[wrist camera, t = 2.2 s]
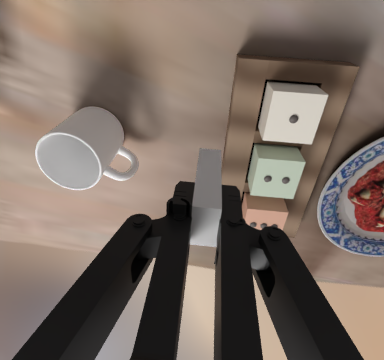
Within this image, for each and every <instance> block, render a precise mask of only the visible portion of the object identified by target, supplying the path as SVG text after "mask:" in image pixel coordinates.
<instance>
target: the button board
mask: <svg viewBox="0 0 384 360" xmlns="http://www.w3.org/2000/svg"><path fill="white" fill-rule="evenodd" d="M359 68H360V67H359V66H356V65H354V64H352V63H349V62H337V61H323V60H309V59H295V58H281V57H267V56H253V55H239V54H237V59H236V66H235V73H234V81H233V88H232V95H231V103H230V110H229V118H228V125H227V132H226V140H225V147H224V154H223V162H222V169H221V178H222V185H232V186H237V188H238V189H239V190H240V196H241V199H242V194H243V192H250V190H249V184H248V179H247V178H248V173H247V169H248V164H249V159H250V154H251V149H252V144H253V143H263V144H275V145H287V146H294V147H297V148H298V149H299V151H300V153H301V155H302V156H303V158H304V160H305V162H306V163H305V166H304V169H303V172H302V175H301V178H300V180H299V183H298V186H297V189H296V192H295V195H294V198H293V199H286V198H284V201H285V204H286V207H287V210H288V212H289V213H288V216H287V219H286V222H285V225H284V228H283V231H284V232H285V233H286V235H287V236H288V237H291V238H294V237H295V235H296V232H297V230H298V227H299V224H300V222H301V219H302V217H303V214H304V211H305V209H306V206H307V203H308V201H309V198H310V196H311V193H312V190H313V188H314V185H315V183H316V180H317V177H318V175H319V172H320V170H321V167H322V164H323V162H324V159H325V157H326V154H327V151H328V149H329V146H330V143H331V141H332V138H333V136H334V133H335V130H336V128H337V125H338V123H339V120H340V117H341V115H342V112H343V110H344V107H345V104H346V102H347V99H348V97H349V94H350V91H351V89H352V86H353V83H354V81H355V78H356V76H357V73H358V70H359ZM266 79H270V80H284V81H297V82H311V83H313V85H317V86H318V87H319V88H320V89H322V90H323V91H324V92H325V93H327V94H328V98H327V101H326V104H325V107H324V110H323V113H322V116H321V119H320V122H319V125H318V128H317V130H316V133H315V136H314V139H313V142H312V144H300V143H288V142H276V141H264V140H262V137H261V134H260V131H259V128H258V123H257V120H258V115H259V110H260V105H261V100H262V95H263V90H264V85H265V80H266Z"/></svg>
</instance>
